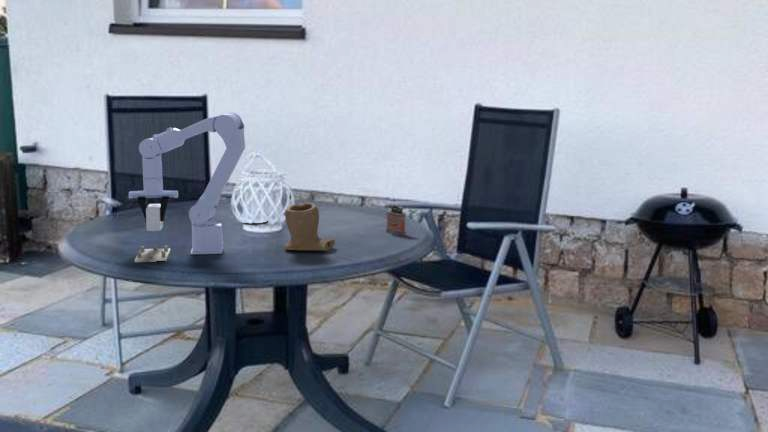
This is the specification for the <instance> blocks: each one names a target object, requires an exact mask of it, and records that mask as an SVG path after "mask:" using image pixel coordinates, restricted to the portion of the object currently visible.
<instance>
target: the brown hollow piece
mask: <svg viewBox="0 0 768 432" xmlns="http://www.w3.org/2000/svg"><path fill="white" fill-rule="evenodd" d="M284 217H285V223H286V227H287V230H288V231H289V233H290V237H291V238H290V241H288V242H286V243H285V244H284V248H285V249H286V250H289V251H301V252H304V251H306V252H329V251H330V250H331V249H332V248H333V247H334V245H335V244H336V239H334V238H333V239H332V238H331V239H330V238H322V237H321V238H320V237H319V235H318V231H319V221H320V212H319V208H318V207H317V205H315V204H314V203H311V202H305V203H302V204H298V203H296V204H295V203H294V204H291V205H290V206H288V207H287V208H286V209H285V211H284Z"/></svg>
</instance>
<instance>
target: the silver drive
mask: <svg viewBox="0 0 768 432" xmlns="http://www.w3.org/2000/svg"><path fill="white" fill-rule="evenodd" d="M145 225H146V232H160V231H161V230H162V229H163V227H164V221H161V204H160V203H149V204H148V206H147V208H146V224H145Z"/></svg>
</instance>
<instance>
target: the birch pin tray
mask: <svg viewBox="0 0 768 432" xmlns="http://www.w3.org/2000/svg"><path fill="white" fill-rule="evenodd" d="M139 249H140V250H139V251H137V253H136V256H135V259H134V261H133V262H134V263H154V262H155V263H157V262H156V261H165V262H167V260H168V258H169V255H170V252H171V251H172V250H171V248H170V247H169V245H164V246H163V248H158V244H157V243H156V244H155V243H154V244H152V248H145V246H143V245H142V246H140V248H139ZM170 250H171V251H170ZM167 257H168V258H167Z"/></svg>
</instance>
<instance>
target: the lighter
mask: <svg viewBox="0 0 768 432" xmlns="http://www.w3.org/2000/svg"><path fill="white" fill-rule="evenodd" d="M388 209H391V210H386V213H385V214H386V230H385V232H386V233H387V234H391V235H394V236H395V235H396V236H406V215H407V213H406V212H403V211H404V207H403V206H400V204H392V203H390V204H389V203H388Z"/></svg>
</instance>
